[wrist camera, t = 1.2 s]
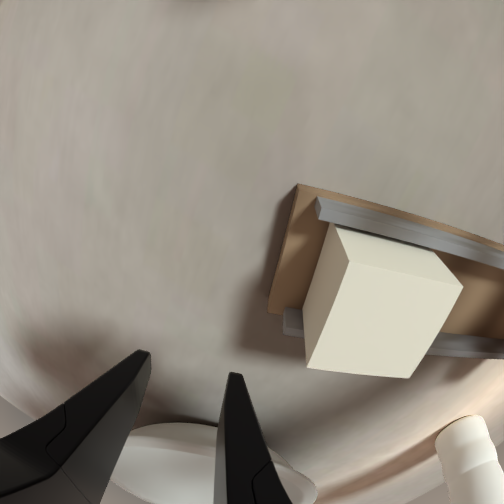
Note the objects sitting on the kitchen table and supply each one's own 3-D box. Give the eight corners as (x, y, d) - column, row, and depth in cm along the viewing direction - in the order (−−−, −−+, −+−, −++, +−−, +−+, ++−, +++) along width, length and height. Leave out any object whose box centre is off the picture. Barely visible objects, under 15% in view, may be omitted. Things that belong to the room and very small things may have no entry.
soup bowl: (356, 449, 30) (362, 497, 24) (221, 492, 38) (215, 526, 32) (189, 341, 24) (165, 407, 18) (83, 419, 32) (65, 457, 26)
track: (550, 264, 18) (591, 303, 12) (510, 337, 21) (540, 382, 15) (297, 183, 18) (306, 223, 12) (268, 299, 21) (262, 370, 15)
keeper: (425, 242, 16) (463, 286, 12) (387, 323, 19) (409, 378, 15) (331, 217, 16) (349, 261, 12) (302, 308, 19) (306, 367, 15)
